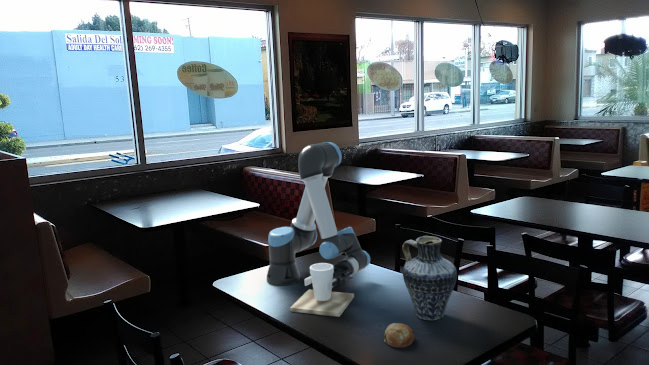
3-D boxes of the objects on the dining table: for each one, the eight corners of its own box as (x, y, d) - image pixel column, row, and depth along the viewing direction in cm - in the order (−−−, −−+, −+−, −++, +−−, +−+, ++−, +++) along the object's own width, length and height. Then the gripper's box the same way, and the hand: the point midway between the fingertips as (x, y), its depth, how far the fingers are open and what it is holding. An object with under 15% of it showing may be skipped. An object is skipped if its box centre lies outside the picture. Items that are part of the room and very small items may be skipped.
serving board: (290, 311, 206) (290, 307, 206) (308, 292, 225) (308, 289, 225) (339, 316, 200) (339, 313, 200) (354, 297, 218) (353, 293, 218)
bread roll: (384, 346, 183) (374, 328, 181) (407, 329, 186) (398, 311, 183) (398, 359, 174) (388, 340, 172) (422, 341, 177) (413, 322, 174)
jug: (463, 311, 201) (463, 234, 195) (447, 332, 184) (447, 248, 179) (411, 302, 211) (411, 229, 206) (392, 321, 195) (391, 242, 189)
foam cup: (335, 293, 216) (334, 263, 214) (333, 302, 207) (332, 270, 205) (312, 293, 217) (311, 263, 215) (309, 302, 208) (308, 270, 206)
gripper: (369, 280, 220) (339, 299, 202) (325, 272, 232) (293, 288, 214) (368, 263, 218) (339, 280, 200) (324, 256, 231) (292, 271, 213)
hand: (315, 284), depth 207 cm, fingers closed on foam cup, 9 cm apart
